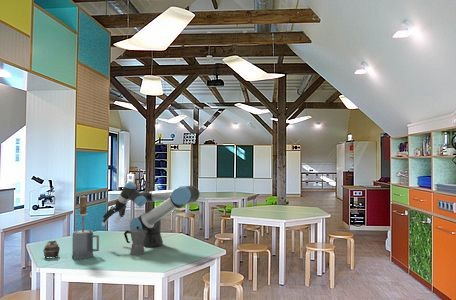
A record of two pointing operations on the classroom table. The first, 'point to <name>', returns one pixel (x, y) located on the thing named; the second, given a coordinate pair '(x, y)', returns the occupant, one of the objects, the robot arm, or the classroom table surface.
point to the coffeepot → (136, 241)
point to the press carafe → (84, 244)
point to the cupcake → (51, 249)
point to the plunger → (83, 212)
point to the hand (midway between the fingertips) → (109, 224)
